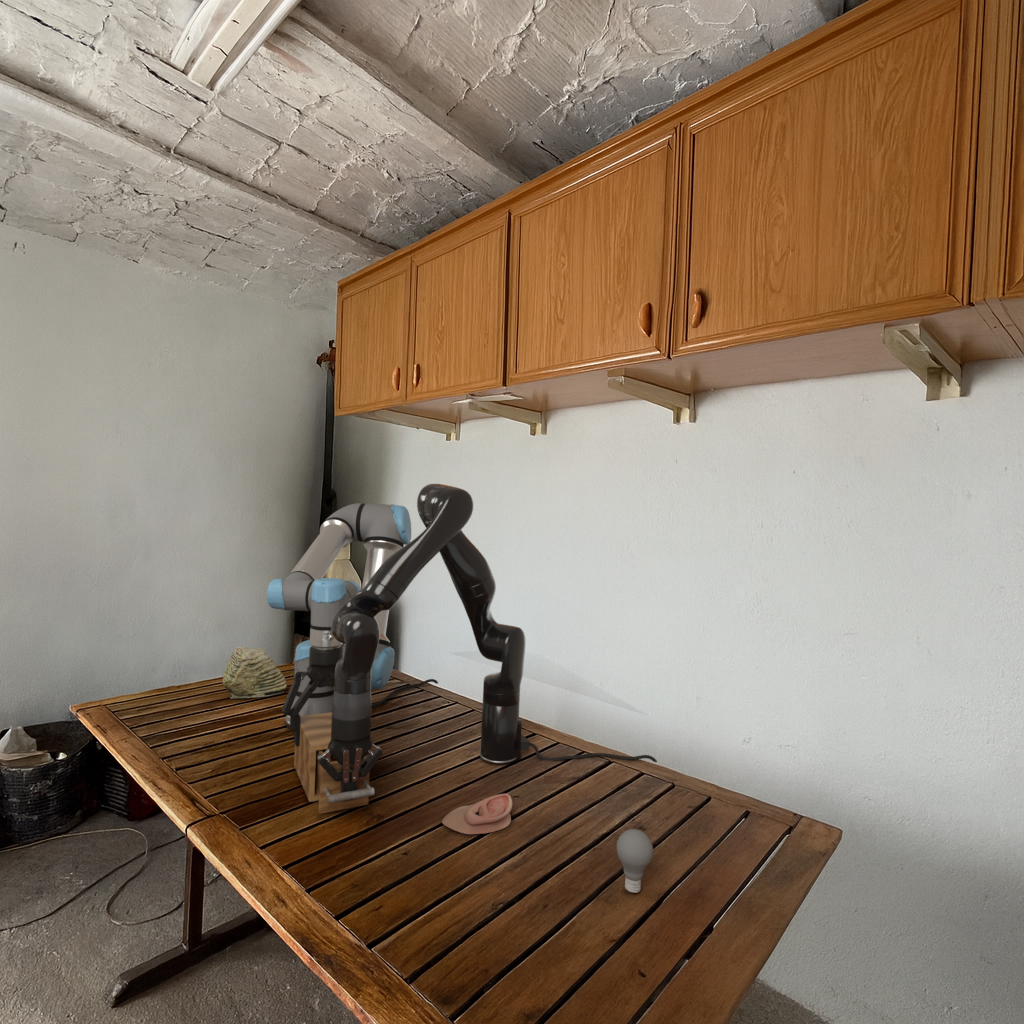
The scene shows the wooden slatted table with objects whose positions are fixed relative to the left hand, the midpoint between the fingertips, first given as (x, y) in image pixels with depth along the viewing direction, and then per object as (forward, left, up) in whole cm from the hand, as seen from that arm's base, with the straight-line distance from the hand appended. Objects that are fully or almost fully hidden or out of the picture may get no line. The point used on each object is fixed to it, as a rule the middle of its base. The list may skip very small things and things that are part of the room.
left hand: (322, 740), depth 147 cm
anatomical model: (-7, +42, -7) cm, 43 cm away
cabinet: (+2, +5, -7) cm, 9 cm away
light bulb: (-8, +76, -7) cm, 77 cm away
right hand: (+10, +23, -3) cm, 25 cm away
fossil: (-17, -61, -7) cm, 63 cm away
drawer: (+6, +15, -6) cm, 17 cm away
